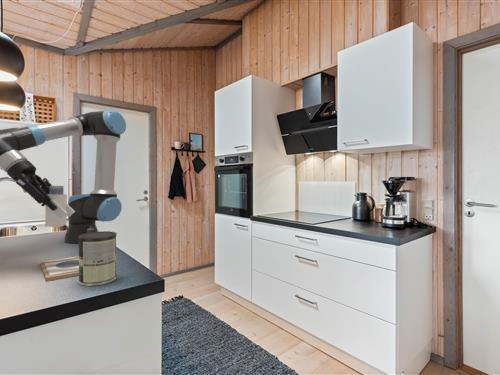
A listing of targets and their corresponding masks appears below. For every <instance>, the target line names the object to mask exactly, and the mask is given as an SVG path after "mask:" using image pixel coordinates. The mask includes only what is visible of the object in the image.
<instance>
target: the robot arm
mask: <svg viewBox="0 0 500 375" xmlns="http://www.w3.org/2000/svg"><path fill="white" fill-rule="evenodd" d="M126 130H127V123H126V119H125V117H124V116H123V115H122V114H121V113H120V112H119V111H118V110H113V109H112V110H111V109H110V110H109V109H107V110H98V111H90V112H86V113H82V114H79V115H74V116H70V117H69V118H67V119H63V120H57V121H49V122H43V123H36V124H31V125H30V124H29V125H24V126H23V125H22V126H16V127H11V128H4V129H0V170H2V171H4V172H5V173H6V174H7V175H8V177H10V178H11V179H12V180H13V181H14V182H15V184H16V185H18V186H19V187H20V188H21V189H22V190H24V191H25V192H26V193H27V194H28V195H29V196H30V197H31V198H32V199H33V200H34V201H36V202H37V203H38V204H39V205H41V207H46V206H47V207H48V208H49V209H50V210H52V211H53V212H54V213H55V214H56V215H57V216H58V217H59V218H60V219H62V218H63V217H64V216H65V215H66V217H68V227H67V229H66V233H65V236H64V243H67V244H79V239H78V236H79V235H81V234H85V233H87V229H88V228H90V226H92V228H94V229H95V232H99V230H98V227H97V224H96V221H98V222H112V221H114V220H116V219H117V217H119V216H120V214H121V212H122V209H123V206H122V202H121V200H120V199H119V198H118V193H117V192H116V191H115V178H116V176H115V175H116V162H117V161H116V158H117V143H118V142H119V141H120V140H121V135H122V134H124V133H125V132H126ZM72 136H74V137H77V138H79V137H84V136H85V137H86V136H93V137H94V139H95V140H96V153H95V154H96V156H95V169H94V183H93V184H94V185H93V190H92V191H91V192H90V193H84V194H83V193H82V194H74V195H73V194H72V195H70V196H69V198H68V201H67V211H65V210H64V209H63V208H62V207H61V206H60V205H59V204H57V203H56V202H55V201H54V200H51V199H50V197H49V196H48V195H47V194H50V186H53V184H52V183H51V182H50V181H49V180H48V179H47V178H46V177H44V178H42V177H41V176H39V175H38V174H36V171H37V168H36V166H35V165H34V164H33V163H32V162H31V161H29V160H28V158H27V157H26V156H25V155H24V154H23V153H22V152H21V151H23V150H29V149H30V148H34V147H38V146H40V145H43V144H44V143H45V142H47V141H54V140H58V139H63V138H67V137H72ZM50 200H51V201H50Z"/></svg>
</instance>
